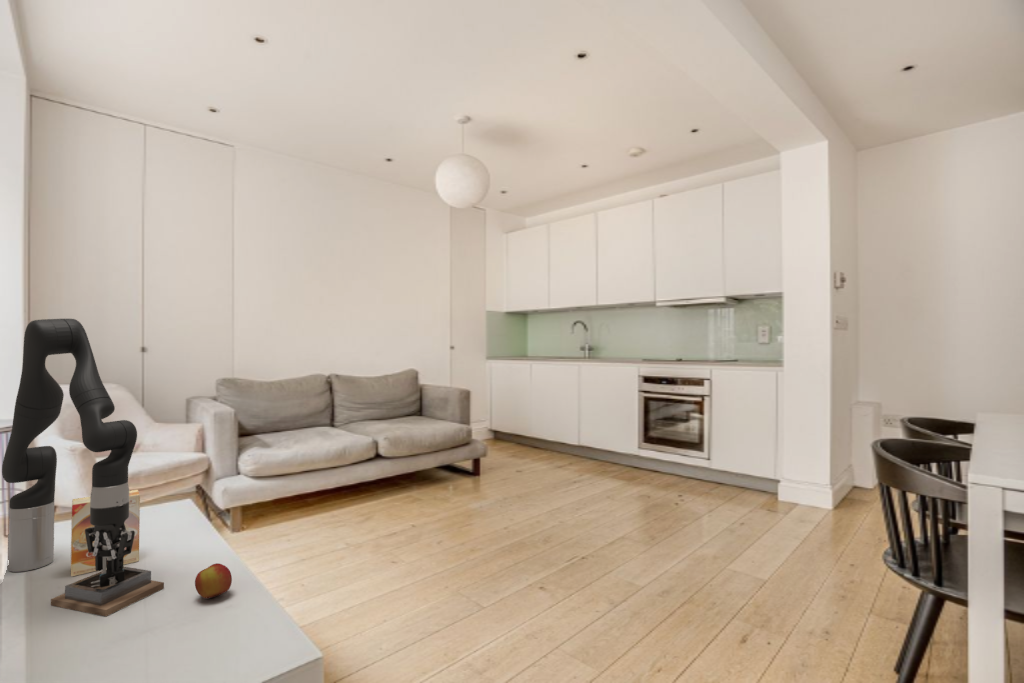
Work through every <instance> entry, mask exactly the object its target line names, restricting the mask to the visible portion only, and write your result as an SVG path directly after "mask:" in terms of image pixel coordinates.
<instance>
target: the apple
mask: <svg viewBox="0 0 1024 683" xmlns="http://www.w3.org/2000/svg"><path fill="white" fill-rule="evenodd" d="M232 582H233V577H232V572H231V571H230V569H229V568H228V566H226V565H224V564H222V563H213V564H211V565H209V566H208V567H207V568H206V567H205V568H204V569H202V570H201V571H199V572H198V573H197V575H196V576H195V580H194V586H195V591H196V593H197V594H198V595H199V596H200V597H201V598H202V599H213V598H215V597H219V596H221V595H223V594H224V593H226V592H228V591H229V590H230V589H231V586H232Z"/></svg>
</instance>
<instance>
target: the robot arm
mask: <svg viewBox="0 0 1024 683" xmlns="http://www.w3.org/2000/svg"><path fill="white" fill-rule="evenodd" d="M87 334H88V333H87V332H86V330H85V327H84V326H83V324H82V323H81V322H80V321H79V320H78V319H75V318H47V319H45V318H44V319H43V318H42V319H34V320H31V321H30V322H29V323H28V324H27V326H26V328H25V332H24V337H23V348H22V349H23V351H22V352H23V353H22V367H21V374H20V380H19V386H18V390H17V395H16V399H15V405H14V411H13V419H12V425H11V426H12V427H11V432H10V436H9V439H8V442H7V445H6V446H7V447H6V450H5V454H4V456H3V460H2V465H1V475H2V478H3V480H4V481H5V482H6V483H8V484H15V483H16V484H17V483H25V482H31V481H37V482H36V483H34V484H33V485H32V486H30V487H29V488H27V489H25V490H23V491H21V492H18V493H16V494H14V495H12V496H11V497H10V498H9V512H8V513H9V514H8V515H9V519H8V520H9V524H8V525H9V526H8V527H9V528H8V529H9V530H8V531H9V532H8V534H7V561H8V560H9V565H8V564H7V568H8V571H10V572H12V573H13V572H14V573H18V572H20V573H21V572H27V571H31V570H35V569H36V570H37V569H39V568H43V567H46V566H48V565H50V564H52V563H53V562H54V560H55V559H54V558H55V556H54V555H55V494H56V493H55V492H56V477H57V475H56V473H57V465H58V464H57V463H58V457H57V452H56V449H55V448H54V446H51V445H44V446H43V445H42V446H33V447H29V446H30V445H31V443H32V442H33V441H34V440H35V439H36V438H37V437H39V435H41V434H42V433H43V432H45V431H46V430H47V429H48V428H49V427H50V426H52V424H54V423H55V421H57V419H58V418H59V417H60V415H61V411H62V406H63V402H64V394H65V393H64V390H63V389H62V387H61V385H60V384H59V383H58V382H57V381H56V380H55V378H54V377H53V376H52V375H51V374H50V373H49V370H48V369H47V367H46V361H47V360H46V359H47V358H48V356H52V355H65V354H71V355H72V356H73V358H74V359H75V366H74V367H75V368H74V372H73V375H72V377H71V380H70V383H69V386H68V387H69V388H68V394H69V397H70V399H71V402H72V404H73V405H74V407H75V410H76V412H77V413H78V415H79V419H80V420H79V421H80V426H81V439H82V444H83V445H84V447H85V448H86V449H87V450H89V451H90V452H93V453H104V452H109V451H110V452H109V454H108V455H107V457H105V458H104V459H101V460H99V461H97V462H95V463H94V464H93V465H92V469H91V477H92V478H91V491H90V496H89V497H90V523H91V525H94V526H93V527H90V528H87V529H85V535H86V541H87V547H88V552H89V553H91V552H93V555H94V556H95V567H96V568H95V570H96V571H95V572H101V571H103V557H100V556H99V552H98V549H100V548H101V547H103V544H107V548H108V550H110V551H111V555H112V558H113V559H112V574H116V573H119V572H121V571H122V570H123V566H124V565H123V557H124V556H125V555H127V554H130V553H131V550H132V545H133V540H134V535H135V532H134V531H130V532H129V531H127V530H126V528H125V525H124V522H125V520H126V519H128V517H129V491H130V486H129V465H130V462H131V459H132V456H133V452H134V449H135V446H136V443H137V440H138V430H137V427H136V425H135V424H134V423H133V422H132V421H130V420H126V419H122V420H120V419H119V420H114V421H113V420H112V421H107V422H104V421H103V420H104V419H106V418H108V417H110V416H111V415H112V414H113V413H114V412H115V407H116V406H115V404H114V402H113V400H112V398H111V396H110V394H109V393H108V391H107V388H106V387H105V385H104V382H103V381H102V379H101V377H100V374H99V370H98V367H97V362H96V360H95V356H94V353H93V350H92V347H91V343H90V340H89V337H88V335H87ZM93 541H94V545H93V544H92V542H93ZM118 542H119V544H117V545H113V544H115V543H118ZM125 547H126V550H125ZM116 548H119V549H118V553H117V551H116ZM106 567H107V558H106Z"/></svg>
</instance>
